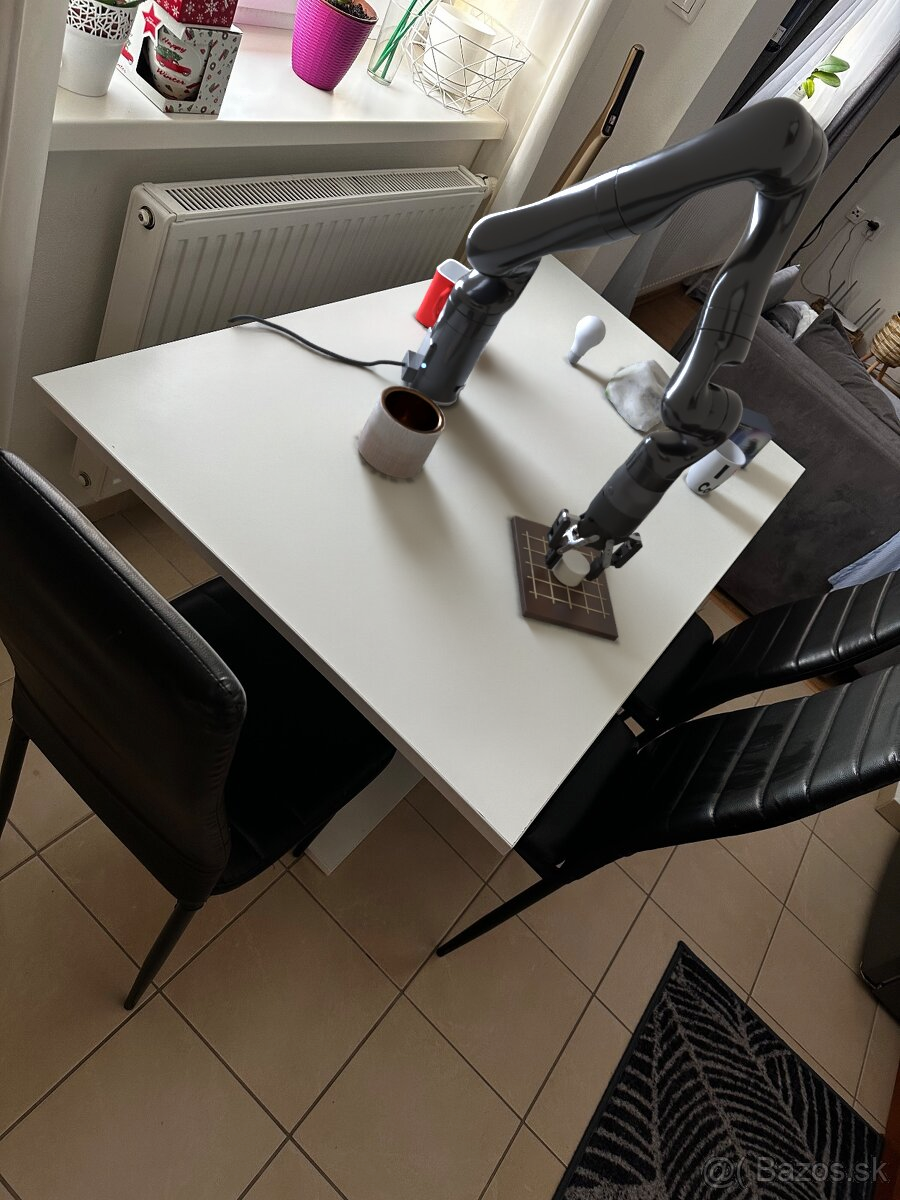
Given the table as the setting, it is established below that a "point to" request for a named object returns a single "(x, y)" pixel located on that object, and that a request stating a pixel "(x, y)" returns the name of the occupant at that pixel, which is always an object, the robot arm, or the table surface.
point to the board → (559, 586)
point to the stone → (639, 393)
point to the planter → (401, 431)
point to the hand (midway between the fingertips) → (567, 570)
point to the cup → (715, 468)
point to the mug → (439, 291)
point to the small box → (752, 434)
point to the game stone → (571, 568)
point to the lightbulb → (586, 337)
